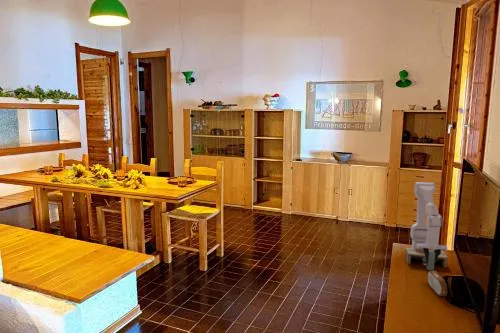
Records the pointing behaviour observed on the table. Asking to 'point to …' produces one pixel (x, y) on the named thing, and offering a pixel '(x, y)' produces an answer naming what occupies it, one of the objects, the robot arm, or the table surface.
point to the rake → (430, 260)
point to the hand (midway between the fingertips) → (430, 261)
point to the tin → (437, 283)
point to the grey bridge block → (420, 254)
